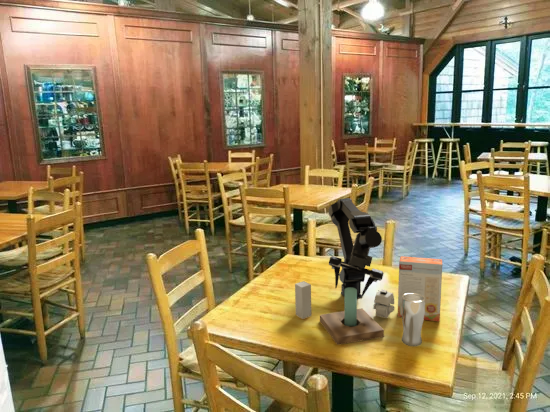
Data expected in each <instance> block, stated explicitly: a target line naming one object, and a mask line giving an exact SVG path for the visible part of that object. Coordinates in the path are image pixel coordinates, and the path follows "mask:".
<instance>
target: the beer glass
mask: <svg viewBox="0 0 550 412" xmlns="http://www.w3.org/2000/svg"><path fill="white" fill-rule="evenodd" d="M401 315H402V317H401V320H402V327H403V328H402V329H403V331H402V337H401V342H402V343H403V344H404V345H405V346H407V347H408V346H409V347H418V346H421V345H422V344H423V339H422V328H423V324H424V321H425V320H424V315H425V298H424V296H422V295H420V294H417V293H406V294H404V295H403V296H402V305H401Z"/></svg>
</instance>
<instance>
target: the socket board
mask: <svg viewBox="0 0 550 412" xmlns="http://www.w3.org/2000/svg"><path fill="white" fill-rule="evenodd" d="M319 322H320V324H321V325H322V326H323V328H324V330H326V332H327V333H328V334H329V336H330V337H331V338H332V340H333V341H334V343H335V344H336V345H338V346H339V345H344V344H350V343H355V342H356V343H357V342H361V341H362V342H363V341H368V340H373V339H379V338H384V337H385V329H384V328H383V327H382V326H380V324H379V323H378V322H377V321H376V320H374V318H373V317H372V316H371V315H370V314H368V312H367V311H366V310H365V309H364V308H357V326H353V327H349V326H345V325H344V310H343V311H342V310H341V311H334V312H330V313H323V314H319Z"/></svg>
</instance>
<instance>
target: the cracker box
mask: <svg viewBox="0 0 550 412" xmlns="http://www.w3.org/2000/svg"><path fill="white" fill-rule="evenodd" d="M398 262H399V263H398V288H397V289H398V291H397V295H398V296H397V317H399V318H402V315H401V305H402V296H403V295H404V294H406V293H417V294H420V295H422V296H424V298H425V315H424V320H423V321H432V322H440V321H441V300H442V283H443V281H442V280H443V259H441V258H440V259H439V258H428V257H413V256H405V255H404V256H400V258H399V261H398Z"/></svg>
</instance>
